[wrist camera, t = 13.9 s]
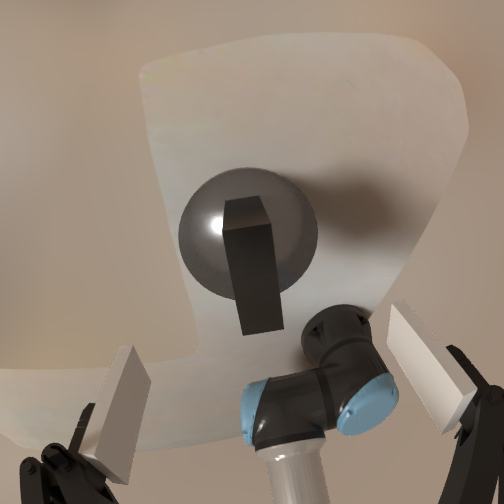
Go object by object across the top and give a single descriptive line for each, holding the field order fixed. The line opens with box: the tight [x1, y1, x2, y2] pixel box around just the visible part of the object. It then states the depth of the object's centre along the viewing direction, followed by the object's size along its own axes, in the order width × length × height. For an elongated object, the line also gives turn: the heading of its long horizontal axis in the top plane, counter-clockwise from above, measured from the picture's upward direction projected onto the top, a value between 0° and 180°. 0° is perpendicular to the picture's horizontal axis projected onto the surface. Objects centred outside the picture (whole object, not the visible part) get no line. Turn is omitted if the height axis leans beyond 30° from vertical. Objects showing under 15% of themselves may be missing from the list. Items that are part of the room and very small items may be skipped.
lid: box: [178, 167, 318, 336], centre depth 24 cm, size 13×13×10 cm
